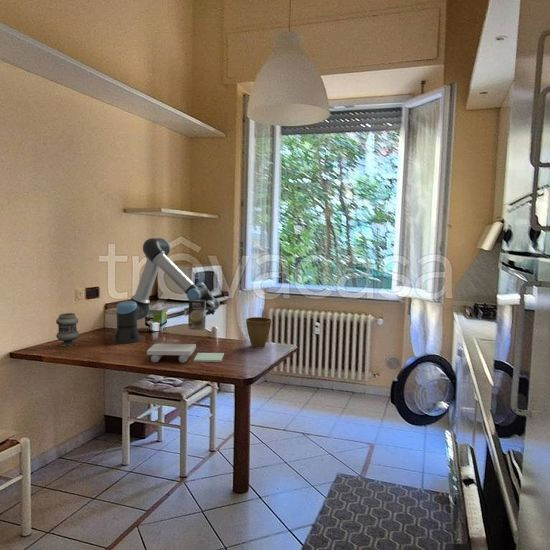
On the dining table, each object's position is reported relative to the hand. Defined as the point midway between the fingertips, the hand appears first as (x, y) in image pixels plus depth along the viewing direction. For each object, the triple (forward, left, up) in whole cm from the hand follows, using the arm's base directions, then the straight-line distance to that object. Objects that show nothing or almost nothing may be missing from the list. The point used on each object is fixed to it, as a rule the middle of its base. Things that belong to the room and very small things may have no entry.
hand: (194, 313), depth 251 cm
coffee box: (+1, +4, -9) cm, 10 cm away
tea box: (-35, +61, -22) cm, 74 cm away
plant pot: (+35, +16, -22) cm, 44 cm away
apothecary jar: (-75, +13, -22) cm, 79 cm away
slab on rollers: (-9, -14, -21) cm, 27 cm away
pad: (+10, -12, -21) cm, 26 cm away
